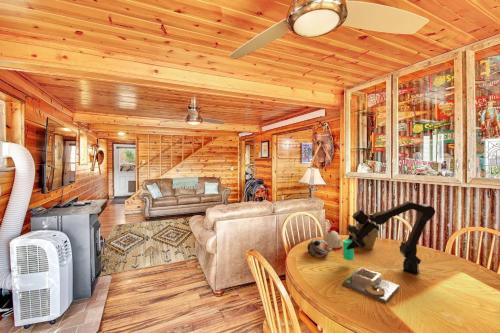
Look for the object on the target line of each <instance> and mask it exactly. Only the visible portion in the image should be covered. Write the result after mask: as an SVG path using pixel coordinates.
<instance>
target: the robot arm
mask: <svg viewBox="0 0 500 333" xmlns="http://www.w3.org/2000/svg"><path fill="white" fill-rule="evenodd" d="M410 210H414V211H416V220H415V222H414V224H413V226H412V229H411V231H410V233H409V235H408V238H407V240H406V241H405V242H404V241H401V243H400V246H398V247H399V252H400V253H401V255H402V256H403V257H404V260H403V261H402V262H403V263H402V265H403V267H402V268H403V269H402V270H403V271H404V272H407V273H410V274H412V275H413V274H414V275H418V274H419V273H420V271H421V270H420V264H421V262H422V260H421V259H420V258H419V257H418V255H417V254H418V248H417V247H418V243H419V241H420V239H421V236H422V234H423V232H424V230H425V227H426V225H427V223H428V222H429V221H431V220H432V219H433V217H434V216H435V215H436V210H435V208H434V207H433V206H431V205H429V204H425V203H423V204H419V203H415V202H412V201H410V200H409V201H408V200H407V201H405V202H403V203H402V204H399V205H396V206H394V207H391V208H390V209H387V210H383V211H376V212H374V213H372V214H366V213H365V212H364V211H363V210H362V209H359V210H358V211H356V212H354V213H353V215H352V216H351V217H352V219H354V221H356V222H357V224H358V223H359V224H363V225H362V226H361V227H360V226H359V227H355V225H353V224H351V223H348V224H347V226H346V228H345V229H347V231H348V238H347V239H350V240H352V242H351V243H350V244H349V245H348V247H347V250H349V249H353V248H354V249H356V248H362V249H364V247H365V246H366V244H365V243H364V240H363V239H364V238H365V237H366V236H369V233H371V232H372V231H373V230H374V229H375V228H376V229H377V230H378V232H379V231H380V226H381V225H384V224H385V223H387V222H388V221H390V219H391V218H394V217H396V216H399V215H401V214H404V213H406V212H407V211H410ZM368 232H369V233H368Z"/></svg>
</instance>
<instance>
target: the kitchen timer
mask: <svg viewBox="0 0 500 333" xmlns="http://www.w3.org/2000/svg"><path fill="white" fill-rule="evenodd" d="M337 229H338V227H336V225H334V226H333V225H332V226H330V227H329V228H328V229H327V232H326V233H325V234H324V235H323V239H322V240H324V241H325V242H326V243H327V244H328V245H329V246H331V247H332V250H334V251H339V250H343V240H342V239H341V237H340V235H339V233H338V232H337ZM332 250H331V251H332Z"/></svg>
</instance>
